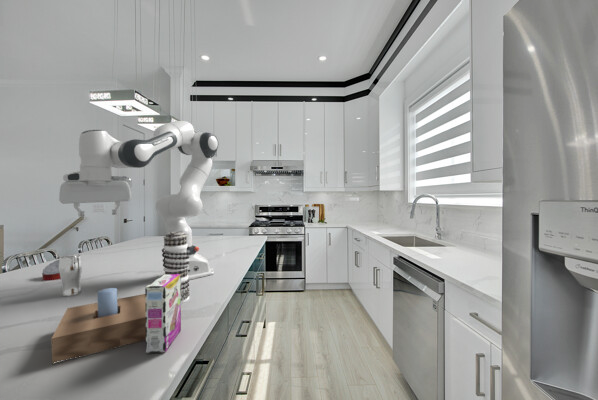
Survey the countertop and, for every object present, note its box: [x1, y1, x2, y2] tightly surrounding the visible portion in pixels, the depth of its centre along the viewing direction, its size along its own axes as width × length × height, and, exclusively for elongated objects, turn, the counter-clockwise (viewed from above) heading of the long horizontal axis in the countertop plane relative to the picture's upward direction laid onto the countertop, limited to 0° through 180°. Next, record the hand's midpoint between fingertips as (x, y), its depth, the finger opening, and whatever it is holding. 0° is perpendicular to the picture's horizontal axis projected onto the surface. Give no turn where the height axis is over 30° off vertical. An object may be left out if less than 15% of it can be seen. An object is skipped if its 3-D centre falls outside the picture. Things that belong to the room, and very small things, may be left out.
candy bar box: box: [144, 274, 182, 354], centre depth 71 cm, size 11×5×16 cm, turn 5°
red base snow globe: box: [41, 259, 61, 282], centre depth 129 cm, size 11×10×10 cm
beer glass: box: [58, 253, 83, 298], centre depth 107 cm, size 7×7×15 cm
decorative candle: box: [161, 231, 190, 304], centre depth 99 cm, size 9×9×25 cm
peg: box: [96, 287, 118, 318], centre depth 76 cm, size 4×4×12 cm
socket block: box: [51, 293, 146, 363], centre depth 76 cm, size 20×20×6 cm
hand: (98, 215), depth 95 cm, fingers open, 8 cm apart
